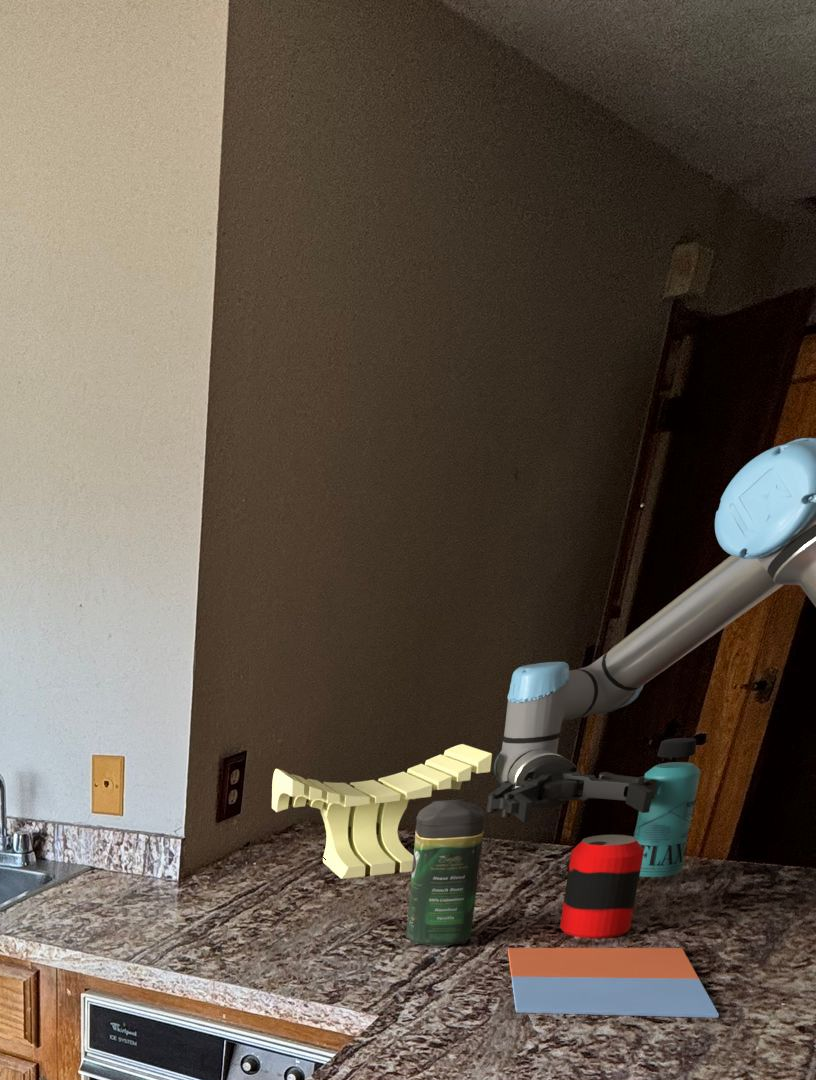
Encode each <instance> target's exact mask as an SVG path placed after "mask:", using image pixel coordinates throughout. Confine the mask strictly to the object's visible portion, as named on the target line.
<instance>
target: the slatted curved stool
mask: <svg viewBox="0 0 816 1080" xmlns="http://www.w3.org/2000/svg"><path fill="white" fill-rule="evenodd" d="M492 758H493V753H491V752H488V751H486V750H482V749H479V748H476V747H473V746H470V745H467V744H464V743H461V744H457V745H455V746H452V747H449V748H447V749H445V750H444V753H443V754H438V755H436V756H433V757H430V758H429V759H426V760H425V762H424V764H423V763H419V764H417V765H414V766H412V767H409V768H407V771H406V772H405V771H401V772H398V773H394V774H391V775H386V776H383V777H380V778H378V779H377V780H375V779H369V780H362V781H353V782H350V783H349V784H348V783H347V782H330V781H323V782H321V781H319V780H317V779H312V778H306V779H305V778H304V777H303V776H300V775H297V774H293V773H291V774H290V773H288V772H287V771H285V770H283V769H280V768H275V769H274V772H273V775H272V781H271V782H272V784H271V787H272V788H271V809H272V810H273V811H275V813H279V812H282V811H284V810H288V809H289V806H291V807H292V808H300V807H306V805H308V806H309V807H311V808H315V809H317V810H319V811H320V815H321V817H322V820H323V823H324V828H325V833H326V834H325V835H326V838H325V839H326V841H325V848H324V852H323V856H322V862H323V864H324V865H325V866H326V867H328V868H329V870H331V872H333V873H334V874H335V875H336V876H337V877H339V879H341V880H345V879H353V878H362V877H363V878H364V877H366V876H367V875H369V876H370V877H372V876H381V875H383V876H384V875H390V874H395V872H399V873H401V874H402V873H409V872H411V873H412V866H413V856H414V854H412V853H411V852H410V851H409V850H408V849H407V848H405V846H404V845H403V844H402V842H401V840H400V838H399V833H398V832H399V831H398V830H399V825H400V823H401V822H400V821H401V819H402V817H403V815H404V813H405V811H406V810H407V808H408V804H409V802H410V800H416V799H422V798H430V797H432V793H433V791H441V790H459V791H460V790H461V788H462V787H461V786H462V783H463V782H469V781H471V778H472V777H471V776H472V773H475V774H483V773H490V772H491V768H492ZM323 857H324V858H325V859H326V860H325V859H324V858H323Z"/></svg>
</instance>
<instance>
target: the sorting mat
mask: <svg viewBox="0 0 816 1080" xmlns="http://www.w3.org/2000/svg"><path fill="white" fill-rule="evenodd" d="M507 955H508V962H509V970H510V979H511V985H512V992H513V1001H514V1009H515V1013H517V1014H518V1013H519V1014H556V1015H590V1016H591V1015H593V1016H594V1015H596V1016H626V1017H627V1016H631V1017H632V1016H635V1017H666V1018H667V1017H669V1018H702V1019H703V1018H705V1019H706V1018H707V1019H708V1018H709V1019H711V1018H712V1019H718V1018H719V1016H720V1014H719V1012H718V1011H717V1008H716V1007H715V1005H714V1002H713V1001H712V999H711V997H710V996H709V994H708V992H707V990H706V989H705V986H704V985H703V983H702V981H701V980H700V978H699V975H698V974H697V973H696V970H695V969H694V967H693V965H692V963H691V961H690V960H689V958H688V956H687V954H686V952H685V950H684V949H683V947H508V948H507Z"/></svg>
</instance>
